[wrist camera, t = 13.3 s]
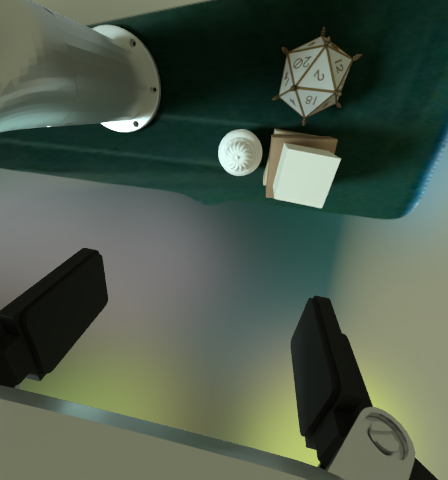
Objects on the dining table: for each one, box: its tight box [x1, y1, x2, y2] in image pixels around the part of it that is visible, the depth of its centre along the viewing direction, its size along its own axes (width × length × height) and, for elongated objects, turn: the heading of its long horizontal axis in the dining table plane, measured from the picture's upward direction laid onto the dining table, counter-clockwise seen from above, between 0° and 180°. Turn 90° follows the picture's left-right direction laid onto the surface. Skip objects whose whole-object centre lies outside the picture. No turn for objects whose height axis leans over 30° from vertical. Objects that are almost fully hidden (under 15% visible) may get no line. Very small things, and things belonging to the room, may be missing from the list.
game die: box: [272, 26, 362, 126], centre depth 27 cm, size 9×8×10 cm
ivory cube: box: [273, 143, 341, 208], centre depth 26 cm, size 5×5×5 cm
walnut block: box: [266, 134, 338, 198], centre depth 30 cm, size 7×7×4 cm
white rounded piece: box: [218, 129, 262, 176], centre depth 33 cm, size 6×6×7 cm
